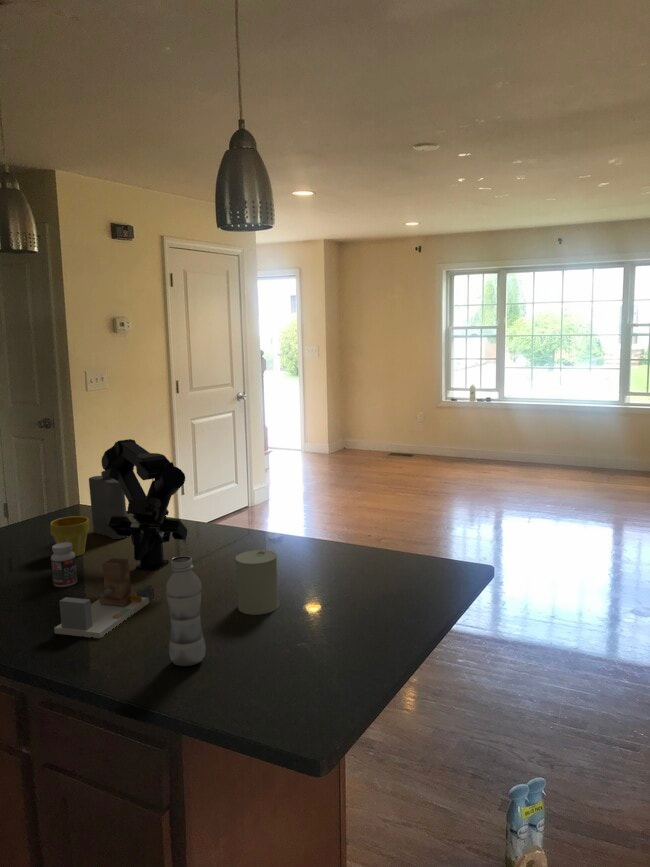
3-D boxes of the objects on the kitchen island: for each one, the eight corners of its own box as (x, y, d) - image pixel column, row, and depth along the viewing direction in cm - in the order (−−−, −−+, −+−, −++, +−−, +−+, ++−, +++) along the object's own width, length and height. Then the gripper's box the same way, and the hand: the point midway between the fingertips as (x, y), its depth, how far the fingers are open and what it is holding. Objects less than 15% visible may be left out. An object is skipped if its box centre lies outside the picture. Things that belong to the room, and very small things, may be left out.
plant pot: (99, 551, 193) (96, 518, 192) (68, 562, 185) (65, 527, 183) (76, 546, 199) (73, 514, 197) (45, 557, 190) (41, 523, 189)
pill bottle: (69, 588, 166) (65, 549, 164) (48, 587, 167) (44, 548, 165) (82, 579, 171) (78, 541, 170) (62, 578, 172) (58, 541, 171)
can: (285, 600, 154) (283, 549, 152) (269, 616, 145) (266, 563, 143) (248, 596, 157) (246, 546, 155) (230, 612, 148) (227, 559, 146)
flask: (133, 536, 207) (128, 472, 204) (117, 541, 203) (111, 475, 200) (107, 528, 217) (101, 466, 214) (90, 532, 212) (84, 470, 209)
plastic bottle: (172, 655, 129) (164, 554, 126) (208, 652, 130) (201, 552, 127) (167, 672, 123) (159, 566, 120) (205, 669, 123) (198, 564, 120)
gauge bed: (107, 598, 158) (104, 570, 157) (149, 602, 155) (146, 573, 154) (54, 633, 141) (51, 601, 140) (100, 638, 137) (97, 605, 136)
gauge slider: (113, 595, 156) (109, 556, 155) (147, 598, 154) (143, 559, 152) (94, 607, 150) (90, 567, 148) (129, 610, 147) (126, 570, 146)
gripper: (108, 483, 164) (85, 541, 155) (178, 486, 159) (158, 546, 150) (128, 506, 173) (107, 563, 164) (195, 510, 168) (177, 568, 159)
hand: (136, 559), depth 159 cm, fingers closed
